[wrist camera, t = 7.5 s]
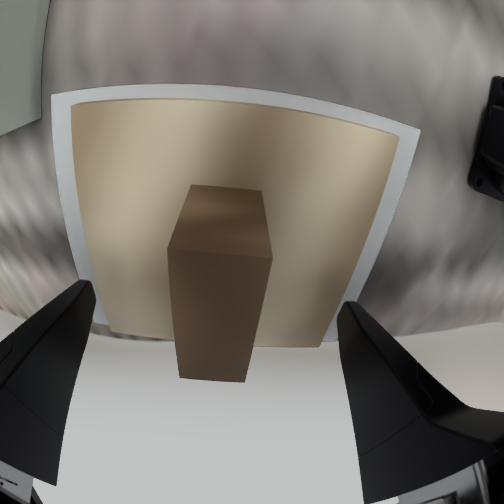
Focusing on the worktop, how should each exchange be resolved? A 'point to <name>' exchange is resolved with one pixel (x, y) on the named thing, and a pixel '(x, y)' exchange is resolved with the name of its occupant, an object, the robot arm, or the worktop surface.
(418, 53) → the worktop surface
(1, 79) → the dish
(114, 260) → the cover
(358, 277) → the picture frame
